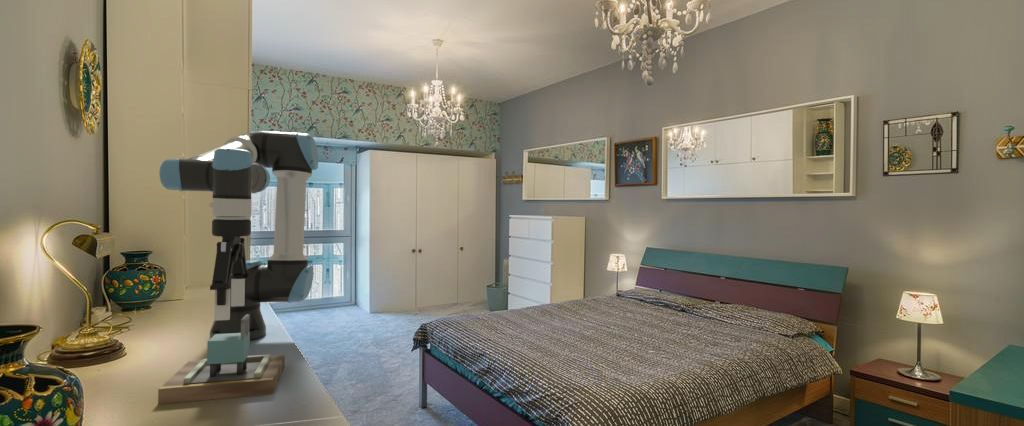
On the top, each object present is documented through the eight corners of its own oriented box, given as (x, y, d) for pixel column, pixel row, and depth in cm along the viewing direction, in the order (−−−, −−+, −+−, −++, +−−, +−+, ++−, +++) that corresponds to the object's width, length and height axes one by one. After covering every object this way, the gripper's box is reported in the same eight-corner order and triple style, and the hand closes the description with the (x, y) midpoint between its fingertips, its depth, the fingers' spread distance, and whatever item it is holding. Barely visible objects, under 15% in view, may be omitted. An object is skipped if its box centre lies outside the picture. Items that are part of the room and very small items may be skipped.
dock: (188, 373, 113) (188, 356, 113) (284, 366, 119) (284, 350, 119) (158, 404, 96) (158, 383, 96) (272, 393, 102) (272, 374, 102)
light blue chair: (214, 369, 108) (215, 315, 107) (249, 366, 110) (250, 313, 110) (206, 378, 102) (207, 321, 102) (243, 375, 104) (244, 319, 104)
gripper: (227, 216, 116) (226, 301, 117) (194, 220, 92) (192, 327, 93) (261, 216, 118) (259, 300, 119) (237, 221, 95) (235, 325, 95)
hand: (230, 312), depth 106 cm, fingers open, 13 cm apart
